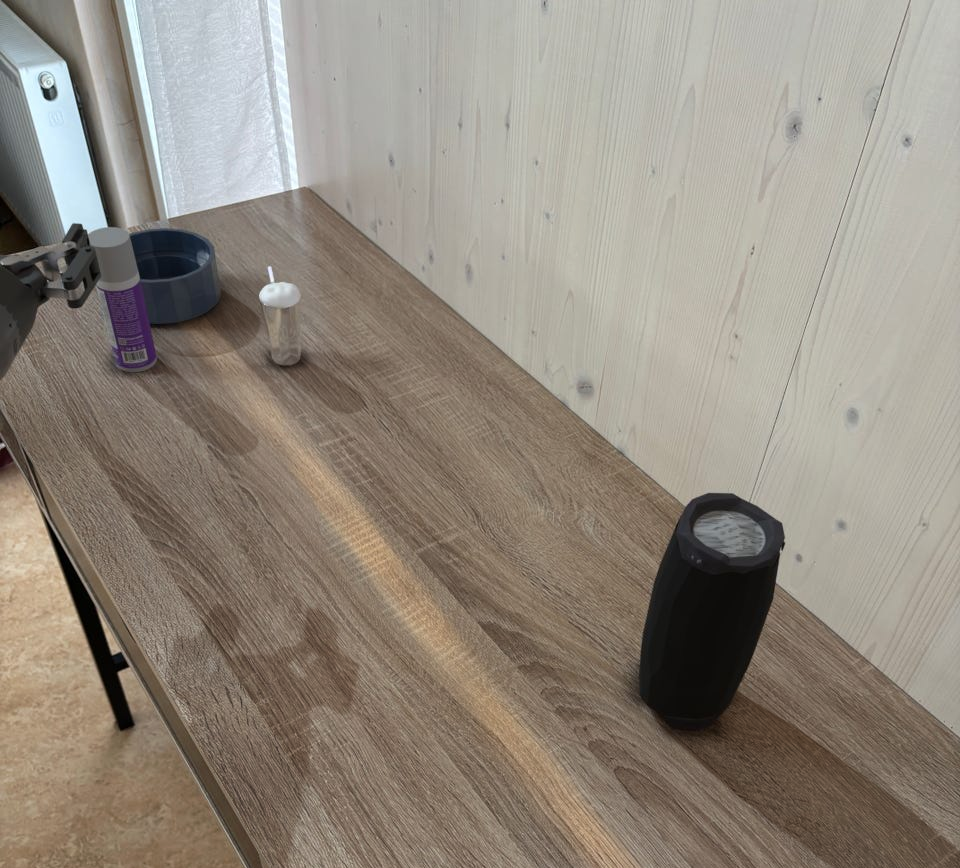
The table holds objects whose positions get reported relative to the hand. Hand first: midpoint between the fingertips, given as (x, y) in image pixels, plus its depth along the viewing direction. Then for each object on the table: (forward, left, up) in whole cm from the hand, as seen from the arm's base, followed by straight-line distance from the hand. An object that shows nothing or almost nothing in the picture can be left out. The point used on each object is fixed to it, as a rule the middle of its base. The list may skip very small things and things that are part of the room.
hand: (31, 230), depth 92 cm
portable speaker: (+49, -44, -24) cm, 70 cm away
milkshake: (+21, +14, -24) cm, 35 cm away
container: (+5, +16, -24) cm, 29 cm away
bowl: (+8, +29, -24) cm, 38 cm away
